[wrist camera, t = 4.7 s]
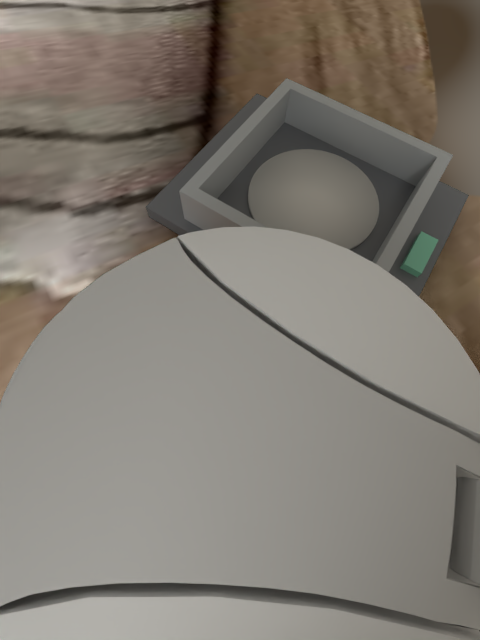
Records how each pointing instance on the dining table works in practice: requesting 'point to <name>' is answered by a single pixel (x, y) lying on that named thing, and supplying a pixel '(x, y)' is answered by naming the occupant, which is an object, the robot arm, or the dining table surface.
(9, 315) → the dining table surface
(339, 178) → the dock
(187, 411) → the paper cup
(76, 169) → the dining table surface
